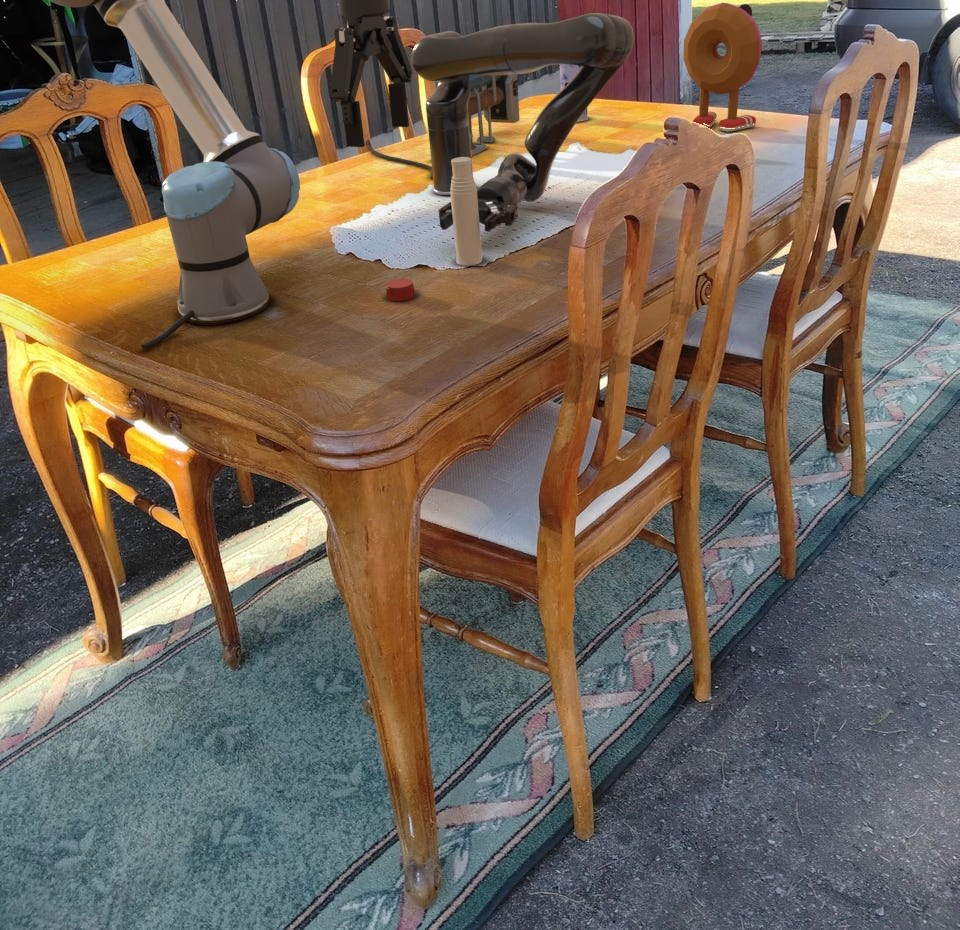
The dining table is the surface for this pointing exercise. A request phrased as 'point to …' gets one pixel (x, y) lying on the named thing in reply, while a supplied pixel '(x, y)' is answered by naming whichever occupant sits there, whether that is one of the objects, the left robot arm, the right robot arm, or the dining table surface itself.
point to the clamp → (492, 104)
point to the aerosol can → (566, 76)
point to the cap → (400, 289)
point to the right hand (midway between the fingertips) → (464, 225)
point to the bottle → (465, 213)
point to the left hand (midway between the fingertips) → (379, 136)
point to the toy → (723, 59)
